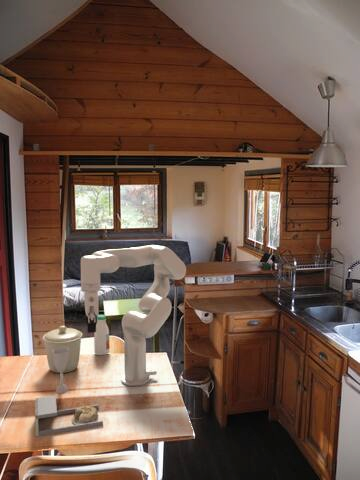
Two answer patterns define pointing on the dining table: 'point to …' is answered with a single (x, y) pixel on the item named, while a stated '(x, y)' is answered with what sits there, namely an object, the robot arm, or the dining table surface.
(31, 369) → the dining table surface
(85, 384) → the dining table surface
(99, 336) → the milk bottle
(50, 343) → the canister
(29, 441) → the dining table surface
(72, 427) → the low barrier
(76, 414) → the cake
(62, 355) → the chalice
